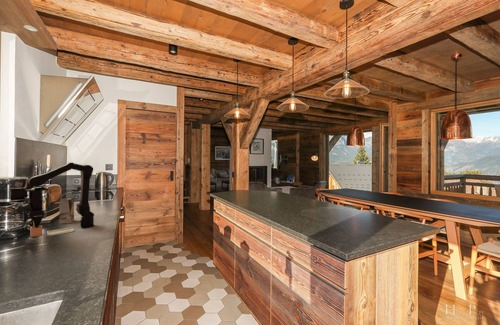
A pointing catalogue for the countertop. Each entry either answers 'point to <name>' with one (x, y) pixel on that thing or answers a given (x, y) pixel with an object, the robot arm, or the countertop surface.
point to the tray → (60, 231)
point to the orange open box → (36, 231)
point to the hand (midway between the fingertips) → (36, 226)
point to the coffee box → (66, 210)
